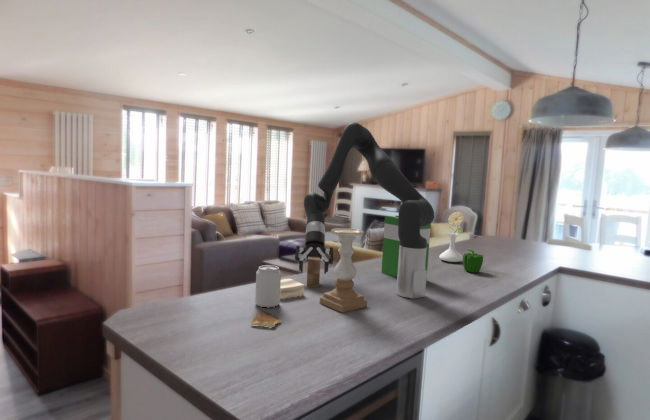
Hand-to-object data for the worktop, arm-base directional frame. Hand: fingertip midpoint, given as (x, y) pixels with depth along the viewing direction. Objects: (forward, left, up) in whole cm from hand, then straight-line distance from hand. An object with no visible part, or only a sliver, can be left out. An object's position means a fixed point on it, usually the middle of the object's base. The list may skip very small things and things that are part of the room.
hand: (313, 272), depth 152 cm
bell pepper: (-7, -77, -5) cm, 78 cm away
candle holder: (-22, +2, -5) cm, 23 cm away
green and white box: (-2, -41, -5) cm, 42 cm away
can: (-13, +24, -5) cm, 27 cm away
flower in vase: (+11, -84, -5) cm, 85 cm away
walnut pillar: (+1, 0, -5) cm, 5 cm away
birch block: (-5, +14, -5) cm, 15 cm away
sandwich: (-25, +31, -6) cm, 40 cm away
